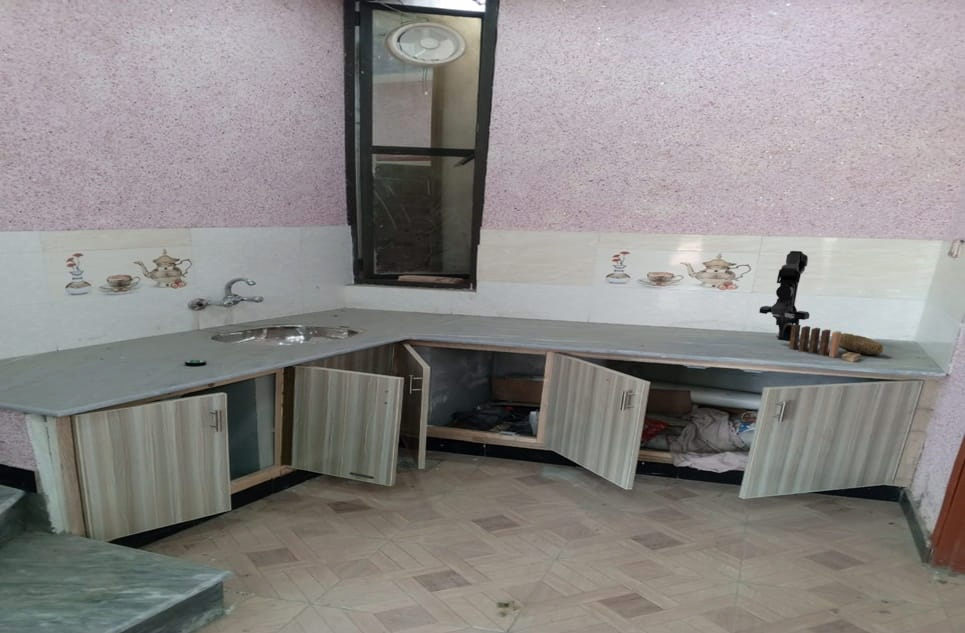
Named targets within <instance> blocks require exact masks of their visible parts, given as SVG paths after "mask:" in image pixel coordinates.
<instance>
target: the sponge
mask: <svg viewBox="0 0 965 633" xmlns="http://www.w3.org/2000/svg"><path fill="white" fill-rule="evenodd" d="M839 348H843V349H846V350H848V351H851V352H853V353H857V354H862V355H864V354H865V355H880V354H882V353H883V351H884V347H883V345H882V344H881V343H880V342H877V341H875V340H872V339H871V338H868V337H866V336H862V335H855V334H854V333H853V334H852V333H841V337H840V343H839Z"/></svg>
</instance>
